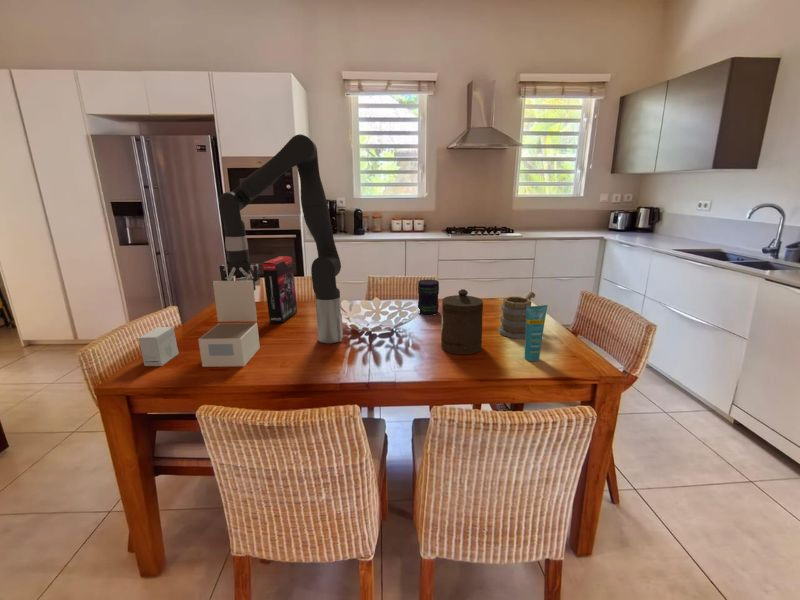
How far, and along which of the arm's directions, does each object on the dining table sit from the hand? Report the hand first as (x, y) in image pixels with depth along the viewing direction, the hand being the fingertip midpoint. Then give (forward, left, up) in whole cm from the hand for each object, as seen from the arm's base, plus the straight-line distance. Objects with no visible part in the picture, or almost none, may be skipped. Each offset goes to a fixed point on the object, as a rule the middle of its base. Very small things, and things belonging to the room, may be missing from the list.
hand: (242, 291), depth 152 cm
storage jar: (-73, -35, -20) cm, 83 cm away
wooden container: (-82, +8, -20) cm, 85 cm away
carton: (0, +15, -20) cm, 25 cm away
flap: (0, +8, -2) cm, 8 cm away
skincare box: (+24, +17, -20) cm, 36 cm away
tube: (-105, +19, -20) cm, 109 cm away
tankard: (-109, -9, -20) cm, 111 cm away
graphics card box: (-6, -29, -20) cm, 36 cm away
